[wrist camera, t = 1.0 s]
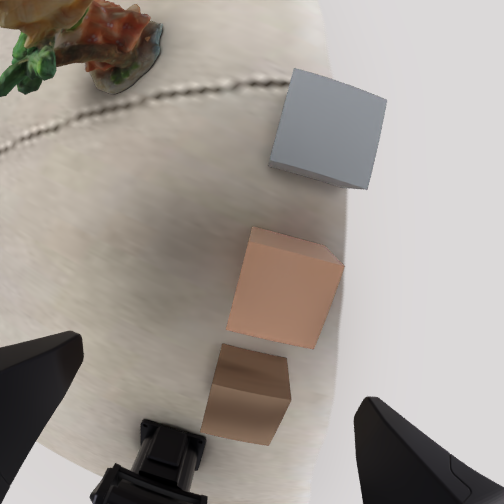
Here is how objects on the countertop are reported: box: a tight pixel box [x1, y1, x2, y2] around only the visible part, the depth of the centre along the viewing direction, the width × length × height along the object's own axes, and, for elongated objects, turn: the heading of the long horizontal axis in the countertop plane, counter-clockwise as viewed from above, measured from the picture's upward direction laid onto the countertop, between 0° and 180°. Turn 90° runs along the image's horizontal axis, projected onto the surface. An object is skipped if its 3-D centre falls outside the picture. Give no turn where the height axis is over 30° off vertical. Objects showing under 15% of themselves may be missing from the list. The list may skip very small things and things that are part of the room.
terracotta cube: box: [226, 226, 345, 349], centre depth 17 cm, size 5×5×5 cm
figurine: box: [0, 0, 163, 97], centre depth 9 cm, size 9×8×15 cm
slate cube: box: [268, 68, 387, 190], centre depth 15 cm, size 5×5×5 cm
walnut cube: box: [200, 344, 291, 446], centre depth 19 cm, size 5×5×5 cm
